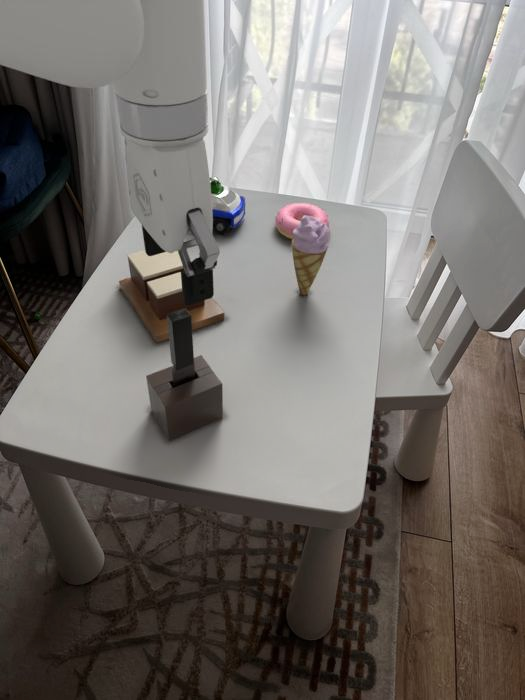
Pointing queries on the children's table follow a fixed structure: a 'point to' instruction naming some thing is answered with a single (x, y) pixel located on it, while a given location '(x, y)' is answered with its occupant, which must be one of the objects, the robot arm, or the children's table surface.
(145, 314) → the cutting board
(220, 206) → the toy car
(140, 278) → the cake
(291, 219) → the doughnut
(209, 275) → the robot arm
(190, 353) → the knife
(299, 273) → the ice cream cone
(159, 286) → the cake slice
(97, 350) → the children's table surface
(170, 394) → the knife block
